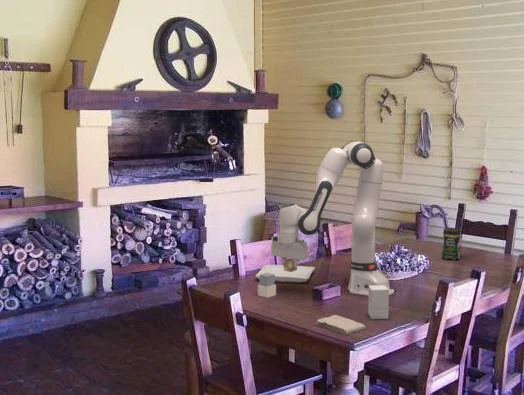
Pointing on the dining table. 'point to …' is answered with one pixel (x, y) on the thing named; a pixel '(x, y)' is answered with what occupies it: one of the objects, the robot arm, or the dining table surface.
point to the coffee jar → (451, 243)
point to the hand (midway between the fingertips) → (290, 266)
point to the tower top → (267, 279)
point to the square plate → (287, 273)
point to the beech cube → (289, 265)
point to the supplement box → (378, 302)
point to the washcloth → (340, 324)
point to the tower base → (266, 291)
